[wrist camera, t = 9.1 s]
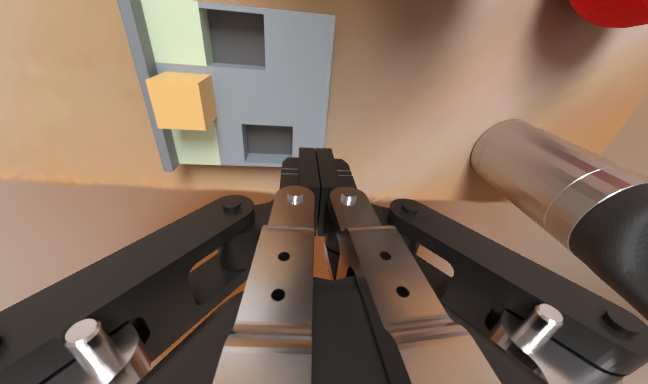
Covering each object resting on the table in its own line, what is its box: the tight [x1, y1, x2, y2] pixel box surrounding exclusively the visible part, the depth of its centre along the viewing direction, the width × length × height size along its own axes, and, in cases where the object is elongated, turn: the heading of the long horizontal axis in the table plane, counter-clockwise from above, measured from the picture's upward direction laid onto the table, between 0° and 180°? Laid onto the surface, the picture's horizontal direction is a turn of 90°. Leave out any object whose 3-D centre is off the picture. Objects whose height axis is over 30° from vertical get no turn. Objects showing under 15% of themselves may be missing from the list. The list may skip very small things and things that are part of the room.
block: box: [145, 72, 217, 131], centre depth 27 cm, size 4×4×4 cm
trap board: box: [117, 0, 336, 171], centre depth 30 cm, size 19×17×5 cm
